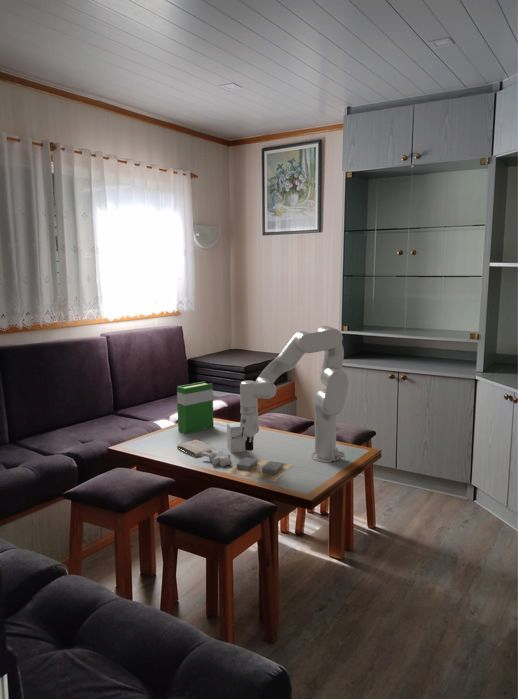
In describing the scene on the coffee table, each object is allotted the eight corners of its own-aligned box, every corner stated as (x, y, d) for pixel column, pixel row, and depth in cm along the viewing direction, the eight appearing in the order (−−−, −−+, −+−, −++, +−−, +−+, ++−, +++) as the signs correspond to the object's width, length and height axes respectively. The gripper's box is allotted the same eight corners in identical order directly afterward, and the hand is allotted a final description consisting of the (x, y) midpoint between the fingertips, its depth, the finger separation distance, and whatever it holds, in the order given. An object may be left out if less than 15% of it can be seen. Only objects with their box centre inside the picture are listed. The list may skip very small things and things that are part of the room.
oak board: (292, 465, 241) (292, 464, 241) (275, 481, 223) (275, 481, 223) (245, 457, 250) (245, 457, 250) (225, 473, 232) (225, 472, 232)
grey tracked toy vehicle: (195, 443, 272) (195, 437, 271) (217, 453, 258) (217, 446, 258) (175, 449, 264) (174, 442, 264) (196, 458, 251) (195, 452, 250)
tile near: (283, 462, 237) (275, 470, 229) (283, 467, 237) (275, 475, 229) (270, 461, 239) (262, 468, 231) (270, 465, 239) (262, 472, 231)
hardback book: (205, 423, 303) (204, 381, 299) (213, 426, 297) (212, 383, 294) (178, 430, 292) (176, 386, 288) (186, 433, 286) (184, 388, 282)
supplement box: (230, 453, 256) (230, 427, 254) (227, 448, 263) (226, 422, 261) (245, 451, 258) (245, 425, 256) (242, 446, 265) (241, 421, 263)
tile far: (257, 459, 242) (249, 466, 233) (257, 463, 242) (249, 470, 234) (245, 457, 244) (236, 464, 236) (245, 461, 244) (236, 468, 236)
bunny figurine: (219, 461, 235) (199, 448, 246) (219, 472, 236) (198, 459, 247) (236, 456, 241) (216, 444, 252) (236, 466, 243) (215, 454, 253)
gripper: (249, 414, 229) (249, 456, 232) (263, 406, 242) (264, 445, 245) (233, 412, 232) (233, 454, 235) (248, 404, 246) (248, 443, 248)
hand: (249, 449), depth 240 cm, fingers closed
